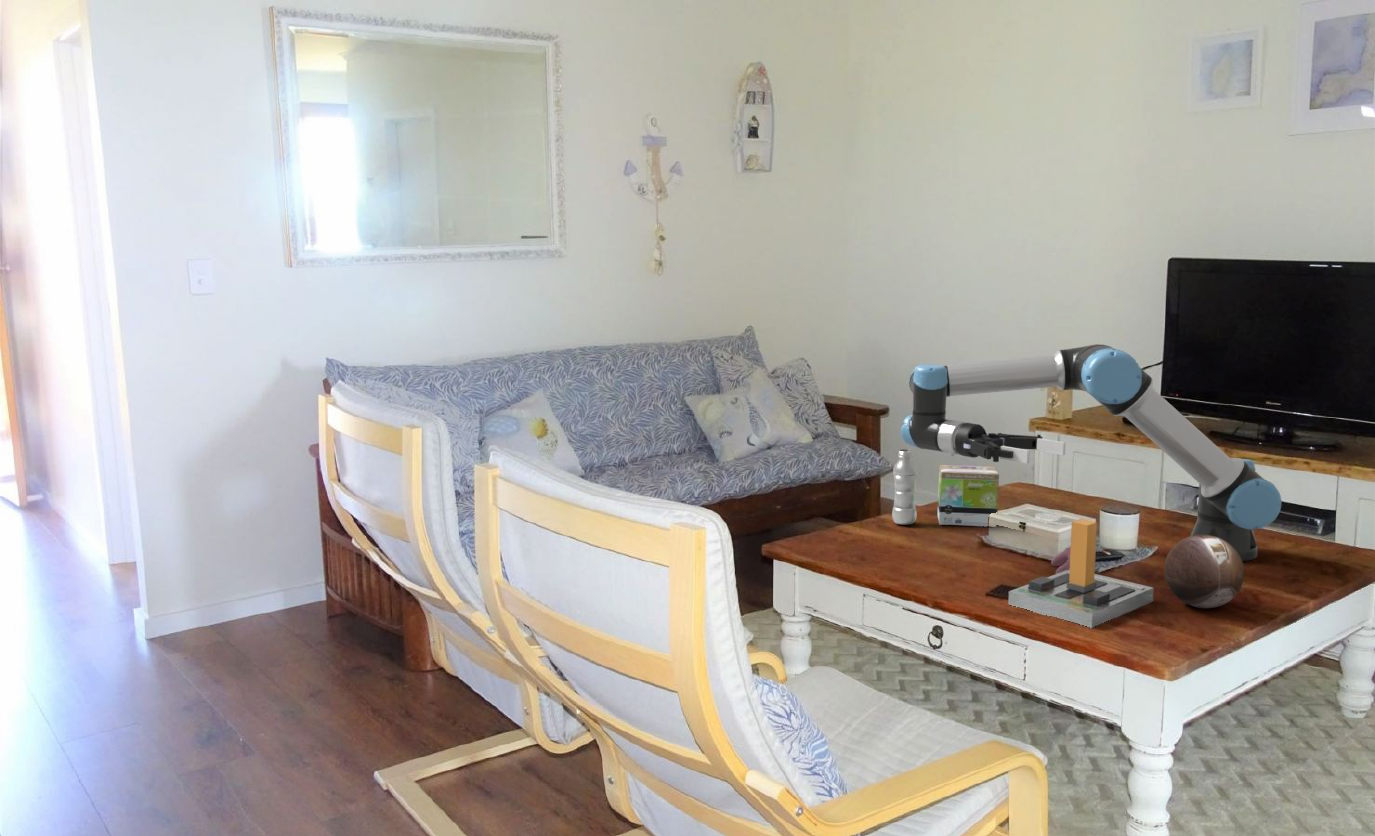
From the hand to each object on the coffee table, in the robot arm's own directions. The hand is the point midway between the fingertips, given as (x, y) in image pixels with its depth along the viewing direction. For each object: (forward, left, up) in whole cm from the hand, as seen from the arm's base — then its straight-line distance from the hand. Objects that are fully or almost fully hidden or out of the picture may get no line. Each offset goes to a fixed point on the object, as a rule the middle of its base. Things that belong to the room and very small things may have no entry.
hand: (1046, 452), depth 241 cm
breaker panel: (-6, +7, -31) cm, 32 cm away
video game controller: (-10, -15, -31) cm, 36 cm away
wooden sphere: (-30, +10, -31) cm, 44 cm away
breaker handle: (-6, +7, -27) cm, 29 cm away
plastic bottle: (+18, -60, -31) cm, 70 cm away
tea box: (+1, -61, -31) cm, 68 cm away
